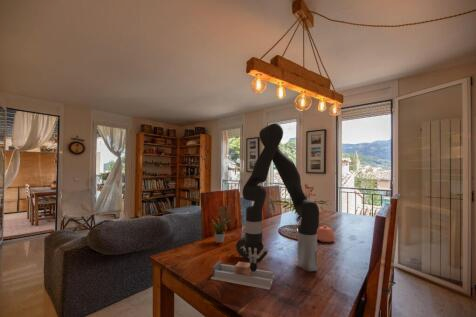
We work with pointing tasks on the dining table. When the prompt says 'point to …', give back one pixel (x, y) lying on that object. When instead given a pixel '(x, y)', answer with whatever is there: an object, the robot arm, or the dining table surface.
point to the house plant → (219, 231)
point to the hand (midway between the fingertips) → (253, 270)
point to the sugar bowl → (325, 234)
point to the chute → (242, 276)
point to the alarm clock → (240, 244)
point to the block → (243, 268)
